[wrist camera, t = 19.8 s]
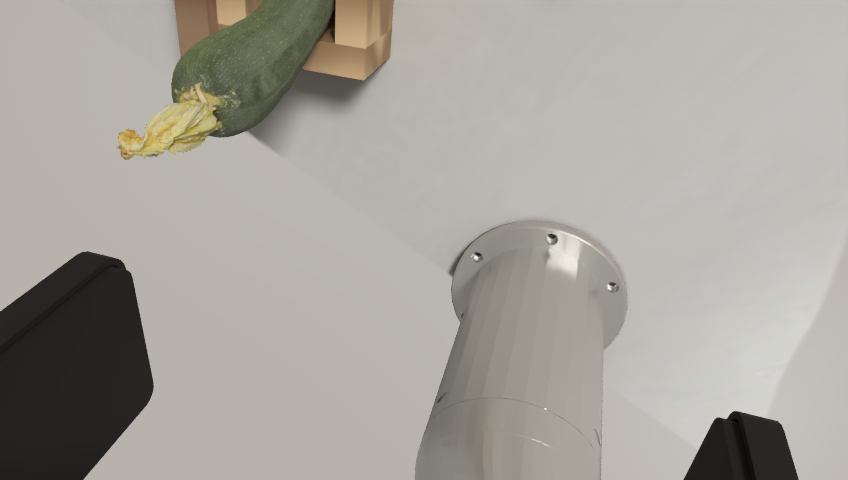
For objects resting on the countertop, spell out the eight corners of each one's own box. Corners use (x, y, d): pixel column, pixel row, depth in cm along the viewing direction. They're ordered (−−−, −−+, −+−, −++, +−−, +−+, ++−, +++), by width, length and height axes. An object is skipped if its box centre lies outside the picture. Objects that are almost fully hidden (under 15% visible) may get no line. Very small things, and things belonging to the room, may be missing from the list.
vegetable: (374, -28, 37) (226, 175, 23) (336, 22, 40) (184, 230, 26) (313, -82, 36) (117, 100, 22) (278, -27, 39) (86, 166, 25)
